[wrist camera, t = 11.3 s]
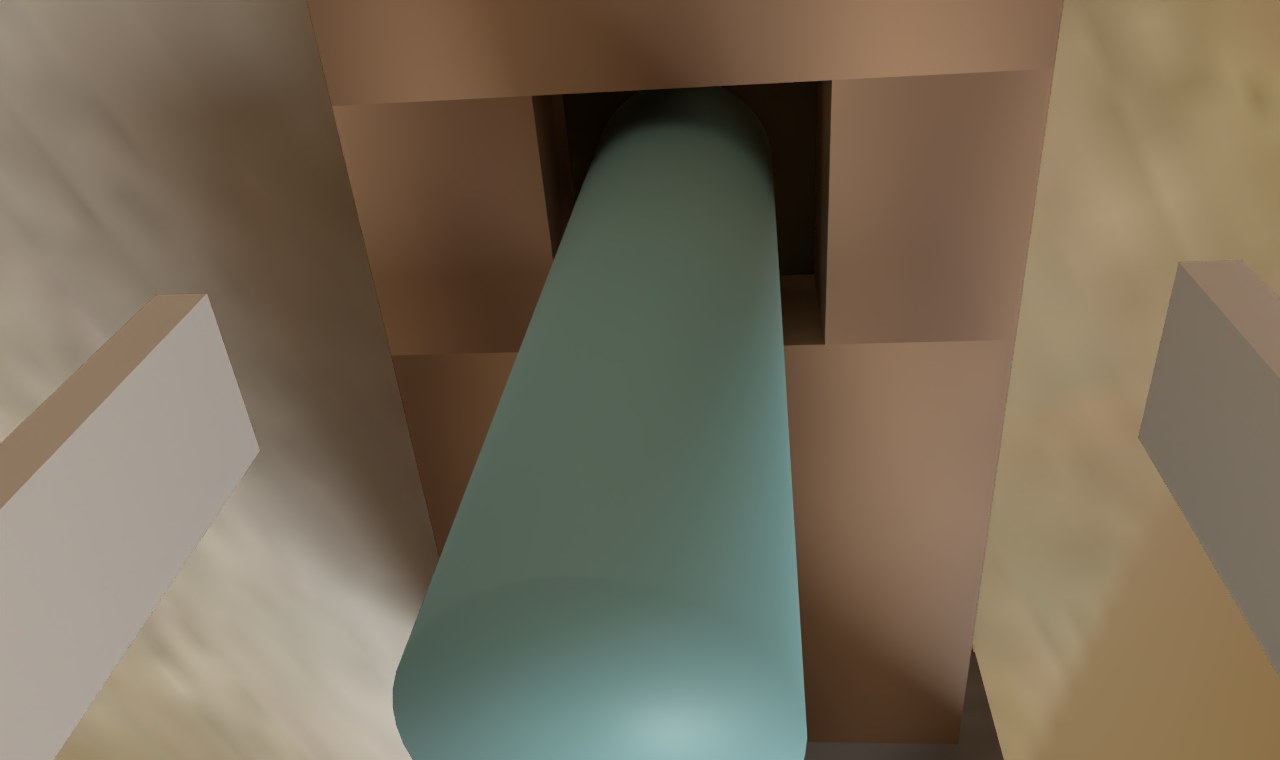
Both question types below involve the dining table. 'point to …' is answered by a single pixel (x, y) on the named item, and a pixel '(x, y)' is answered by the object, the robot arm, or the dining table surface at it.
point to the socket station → (810, 304)
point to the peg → (632, 480)
